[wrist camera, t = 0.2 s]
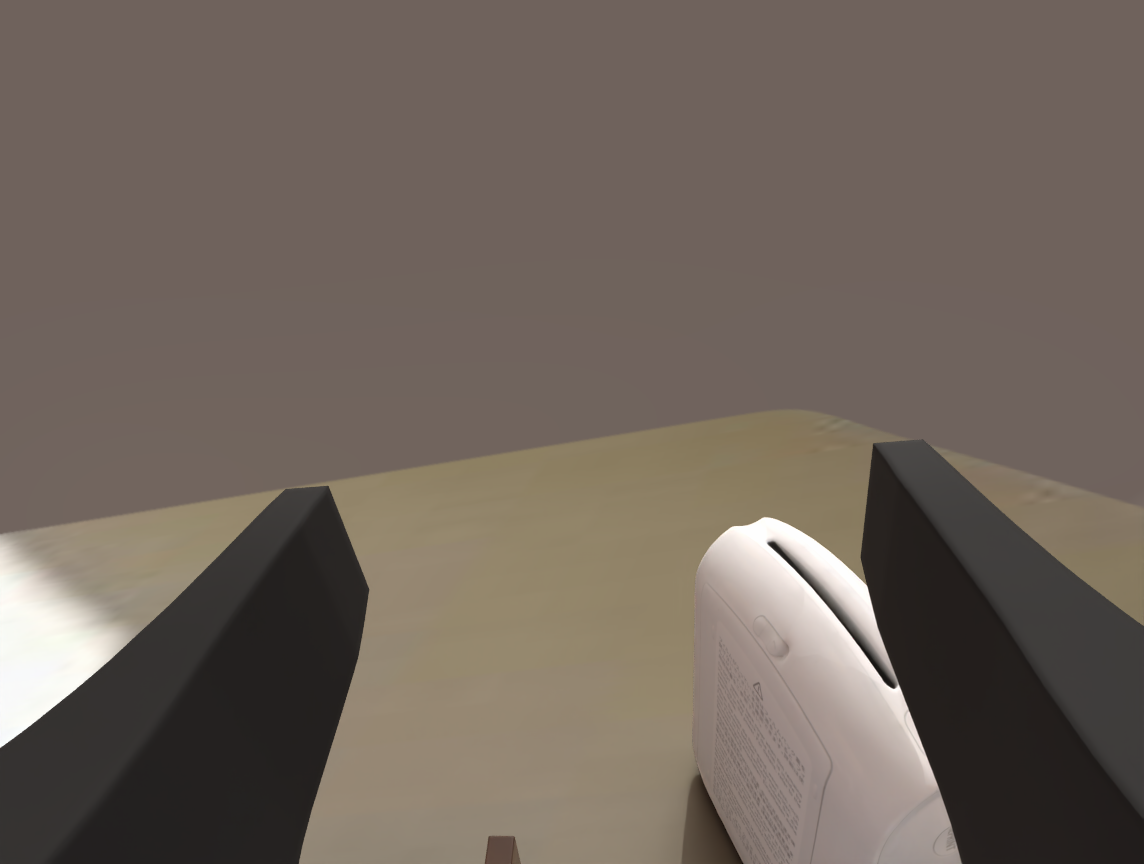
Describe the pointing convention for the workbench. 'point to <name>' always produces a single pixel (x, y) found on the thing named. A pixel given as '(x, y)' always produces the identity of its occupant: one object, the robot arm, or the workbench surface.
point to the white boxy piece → (805, 711)
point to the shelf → (502, 850)
